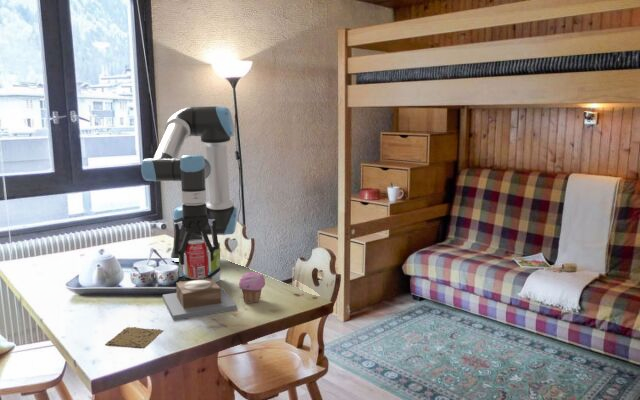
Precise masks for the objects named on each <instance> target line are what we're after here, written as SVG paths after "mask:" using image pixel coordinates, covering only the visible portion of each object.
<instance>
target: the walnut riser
mask: <svg viewBox="0 0 640 400" xmlns="http://www.w3.org/2000/svg"><path fill="white" fill-rule="evenodd" d="M175 289H176V291H175V292H176V293H177V298H178V300H179V302H180V303H181V305H182V307H183V309H187V308H193V307H199V306H206V305H212V304H218V303H221V288H220V287H219V285H218V284H217V282H215V281H214V280H213V279H212V278H205V279H198V280H191V281H184V282H179V281H178V282H175Z"/></svg>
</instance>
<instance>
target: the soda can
mask: <svg viewBox="0 0 640 400" xmlns="http://www.w3.org/2000/svg"><path fill="white" fill-rule="evenodd" d="M185 254H186V256H187V276H188V277H190V278H191V279H202V278H204V277H205V276H207V275H208V252H207V245H206V243H205V240H204V239H203V240H202V239H193V240H189V241H188V243H187V246H186V250H185Z"/></svg>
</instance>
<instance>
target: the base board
mask: <svg viewBox="0 0 640 400" xmlns="http://www.w3.org/2000/svg"><path fill="white" fill-rule="evenodd" d="M218 286H219V285H218ZM219 287H220V288H221V303H218V304H212V305H206V306H199V307H193V308H187V309H183V307H182V305H181V303H180V302H179V300H178V298H177V292H172V293H166V294H165V293H164V294H162V300H163V302H164V304H165V306H166V308H167V310H168V312H169V314H170V316H171V319H172V320H173V321H177V320H183V319H189V318H195V317H200V316H201V317H202V316H207V315H211V314H218V313H225V312H230V311H235V310H236V311H237V304H236V303H235V301H234V300H232V298H231V297H230V295H228V293H227V292H226V291H225V290H224V288H222V286H219Z"/></svg>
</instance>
